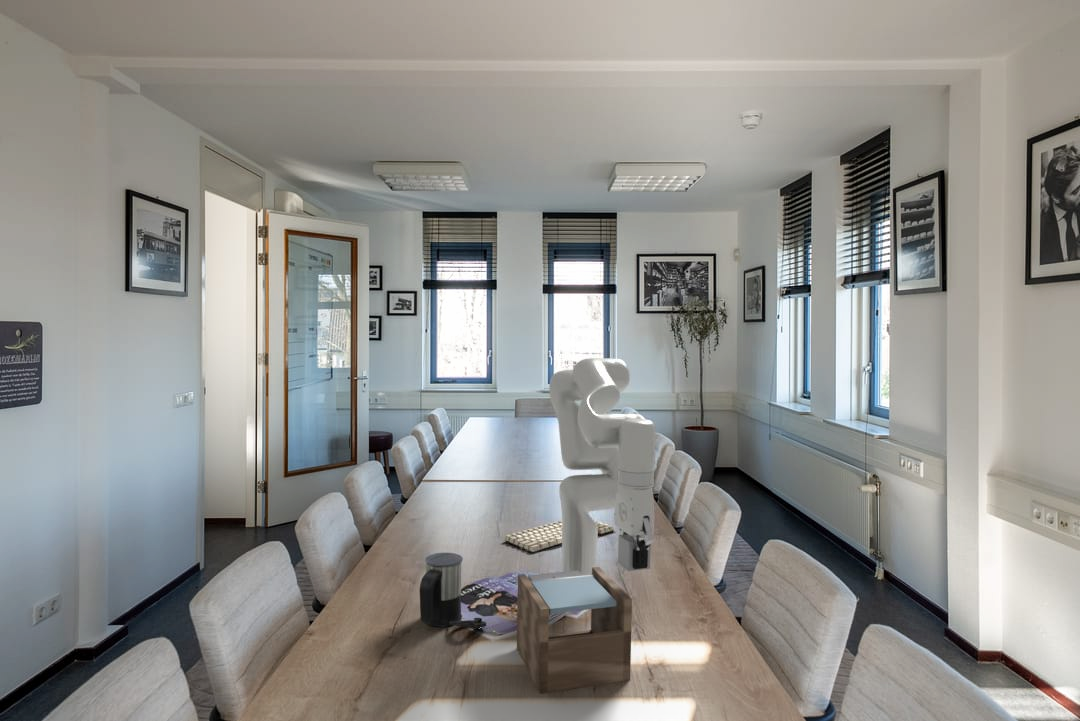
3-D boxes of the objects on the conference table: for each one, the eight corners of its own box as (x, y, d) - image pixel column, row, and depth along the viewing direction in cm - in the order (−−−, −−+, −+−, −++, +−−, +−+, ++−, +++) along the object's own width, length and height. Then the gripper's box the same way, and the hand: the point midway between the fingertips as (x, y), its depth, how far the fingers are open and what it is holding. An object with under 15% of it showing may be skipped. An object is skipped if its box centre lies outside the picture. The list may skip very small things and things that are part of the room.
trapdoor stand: (516, 648, 138) (517, 574, 138) (597, 637, 144) (598, 566, 143) (539, 693, 121) (541, 609, 120) (630, 679, 126) (632, 599, 126)
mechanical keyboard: (539, 559, 195) (539, 548, 195) (499, 543, 209) (499, 533, 209) (617, 534, 221) (617, 524, 221) (577, 522, 235) (577, 513, 235)
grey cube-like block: (618, 562, 135) (618, 534, 134) (639, 560, 136) (639, 532, 136) (628, 571, 130) (629, 542, 130) (650, 568, 131) (650, 540, 131)
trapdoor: (521, 597, 142) (522, 570, 142) (583, 590, 147) (583, 565, 146) (547, 639, 123) (548, 608, 123) (617, 630, 127) (618, 600, 127)
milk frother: (428, 609, 157) (428, 551, 156) (491, 611, 156) (492, 553, 156) (415, 637, 143) (415, 572, 142) (484, 639, 142) (485, 575, 141)
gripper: (603, 470, 139) (601, 551, 140) (638, 489, 123) (635, 580, 124) (633, 468, 141) (631, 548, 142) (672, 486, 125) (669, 576, 126)
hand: (633, 562), depth 133 cm, fingers closed on grey cube-like block, 5 cm apart
